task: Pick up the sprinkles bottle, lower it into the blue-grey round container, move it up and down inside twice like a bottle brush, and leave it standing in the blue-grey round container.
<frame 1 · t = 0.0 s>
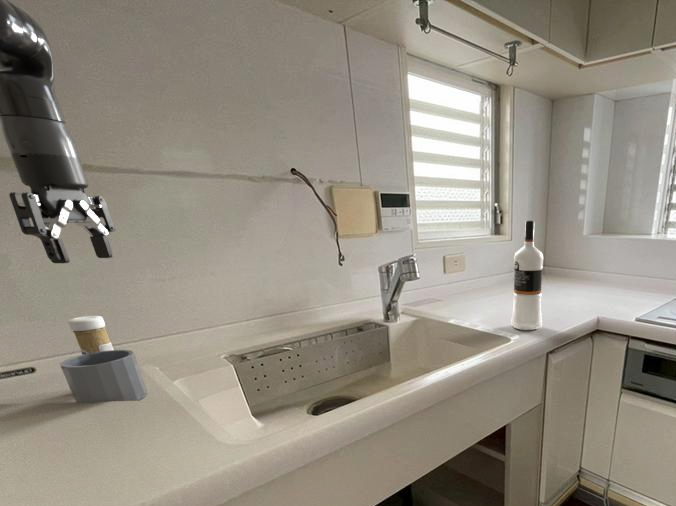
hand: (84, 260, 69), 24 cm above the countertop, tool pointing down, fingers open, 8 cm apart
vodka: (526, 327, 121), on the countertop
blue-grey round container: (114, 400, 72), on the countertop
sprinkles bottle: (111, 386, 78), on the countertop
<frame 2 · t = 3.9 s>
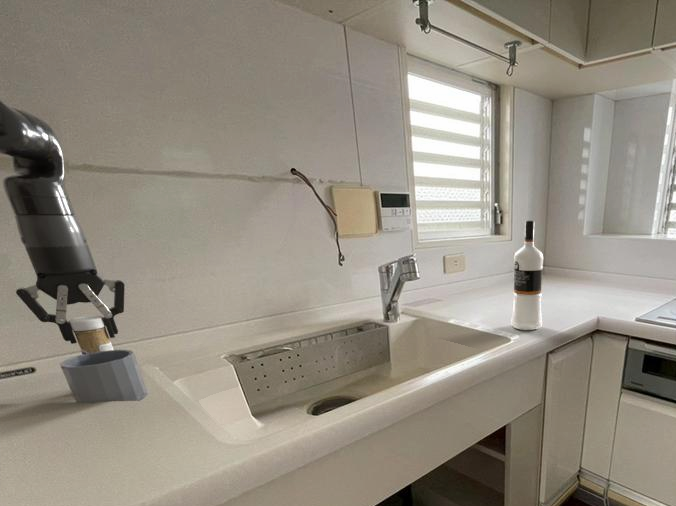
hand: (93, 339, 75), 9 cm above the countertop, tool pointing down, fingers closed on sprinkles bottle, 4 cm apart
sprinkles bottle: (111, 386, 78), on the countertop, touching gripper
everything else where it was.
when the fingers open (10 cm above the countertop, at t = 12.6 s): sprinkles bottle stays where it is, resting on blue-grey round container.
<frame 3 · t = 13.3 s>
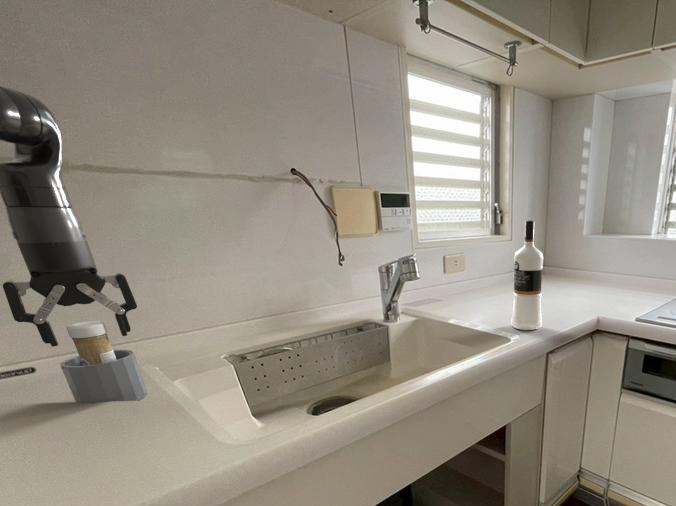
hand: (91, 340, 68), 11 cm above the countertop, tool pointing down, fingers open, 8 cm apart
sprinkles bottle: (113, 397, 72), resting on blue-grey round container
everything else where it was.
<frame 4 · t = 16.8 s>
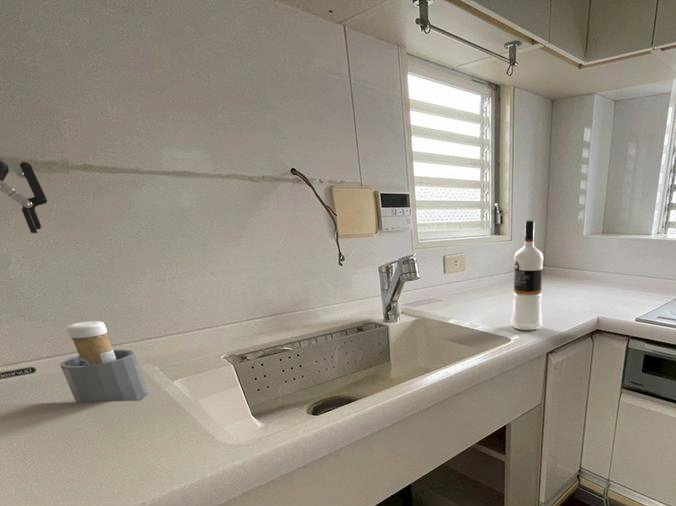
nothing on the countertop moved.
at the end: sprinkles bottle 0.0 cm off-centre in the blue-grey round container, point 0.4 cm above the blue-grey round container's base; sprinkles bottle tilted 0°; the gripper is holding nothing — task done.
